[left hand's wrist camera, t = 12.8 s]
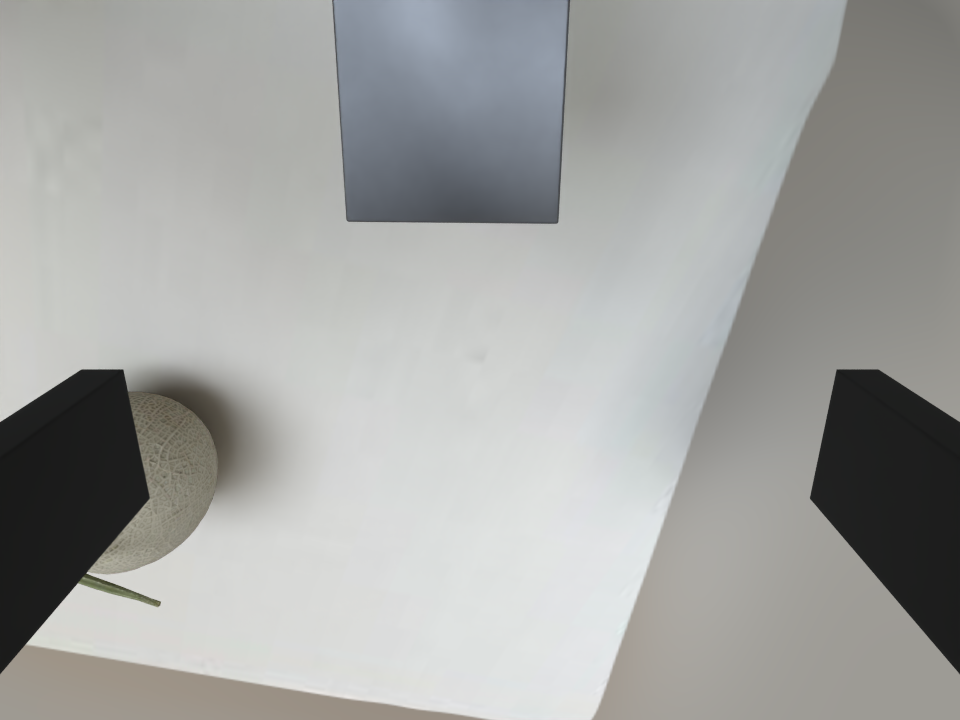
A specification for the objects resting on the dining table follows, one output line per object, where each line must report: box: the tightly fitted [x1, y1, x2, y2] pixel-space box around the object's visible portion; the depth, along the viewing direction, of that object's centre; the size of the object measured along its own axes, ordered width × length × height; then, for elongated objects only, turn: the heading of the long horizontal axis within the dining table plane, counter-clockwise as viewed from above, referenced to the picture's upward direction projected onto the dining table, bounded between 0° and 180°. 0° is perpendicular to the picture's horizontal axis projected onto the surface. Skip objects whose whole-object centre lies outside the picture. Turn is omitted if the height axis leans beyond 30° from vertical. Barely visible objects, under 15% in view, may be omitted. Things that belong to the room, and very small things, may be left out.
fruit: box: [78, 392, 218, 607], centre depth 40 cm, size 10×12×15 cm
